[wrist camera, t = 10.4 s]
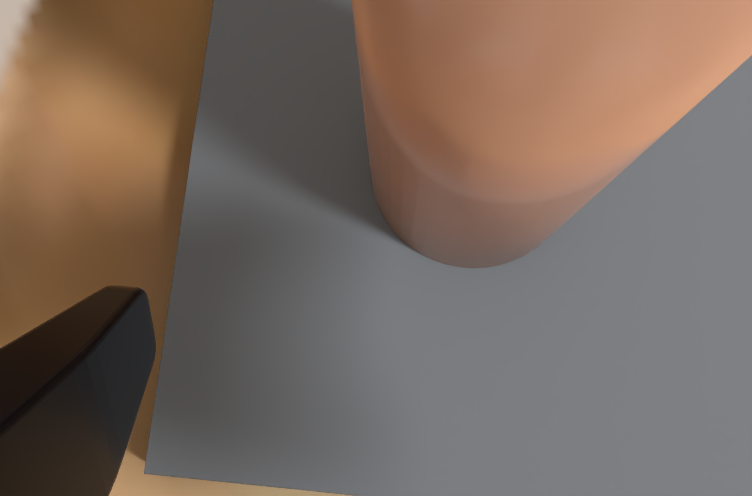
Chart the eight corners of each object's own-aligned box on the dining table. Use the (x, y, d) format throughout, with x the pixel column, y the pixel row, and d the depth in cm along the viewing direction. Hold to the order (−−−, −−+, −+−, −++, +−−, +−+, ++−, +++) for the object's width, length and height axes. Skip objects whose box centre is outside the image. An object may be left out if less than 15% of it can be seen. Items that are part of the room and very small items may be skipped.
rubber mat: (746, 529, 16) (765, 537, 15) (155, 468, 17) (143, 473, 16) (745, -86, 19) (761, -106, 18) (240, -120, 19) (234, -141, 19)
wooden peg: (601, 238, 16) (1660, -463, 3) (399, 291, 16) (439, -165, 3) (540, 51, 17) (1097, -1183, 4) (348, 100, 17) (176, -983, 4)
